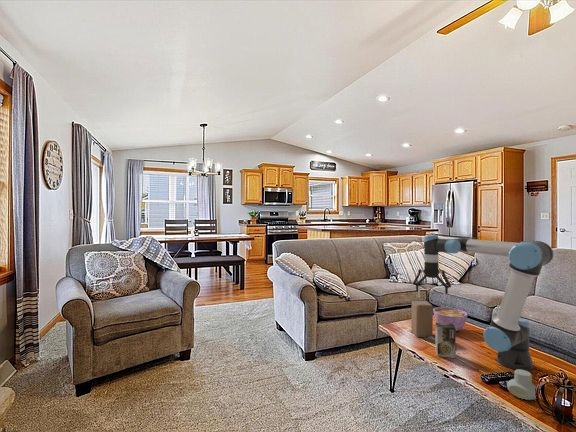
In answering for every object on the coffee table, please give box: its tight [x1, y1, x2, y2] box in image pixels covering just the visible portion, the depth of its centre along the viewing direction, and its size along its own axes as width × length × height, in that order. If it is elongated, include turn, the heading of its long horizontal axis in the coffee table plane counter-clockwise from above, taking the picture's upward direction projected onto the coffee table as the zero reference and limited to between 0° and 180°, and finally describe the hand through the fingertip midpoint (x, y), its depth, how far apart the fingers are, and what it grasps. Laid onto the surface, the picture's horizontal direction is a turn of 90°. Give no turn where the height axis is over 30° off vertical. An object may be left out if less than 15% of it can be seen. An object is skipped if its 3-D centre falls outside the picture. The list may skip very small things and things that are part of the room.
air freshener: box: [506, 369, 537, 401], centre depth 137 cm, size 11×8×10 cm
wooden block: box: [410, 300, 434, 338], centre depth 203 cm, size 10×10×20 cm
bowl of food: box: [433, 306, 468, 332], centre depth 213 cm, size 20×20×12 cm
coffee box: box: [434, 322, 457, 359], centre depth 175 cm, size 9×6×16 cm
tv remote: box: [424, 336, 435, 344], centre depth 191 cm, size 16×4×2 cm, turn 37°
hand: (431, 298), depth 189 cm, fingers open, 13 cm apart
